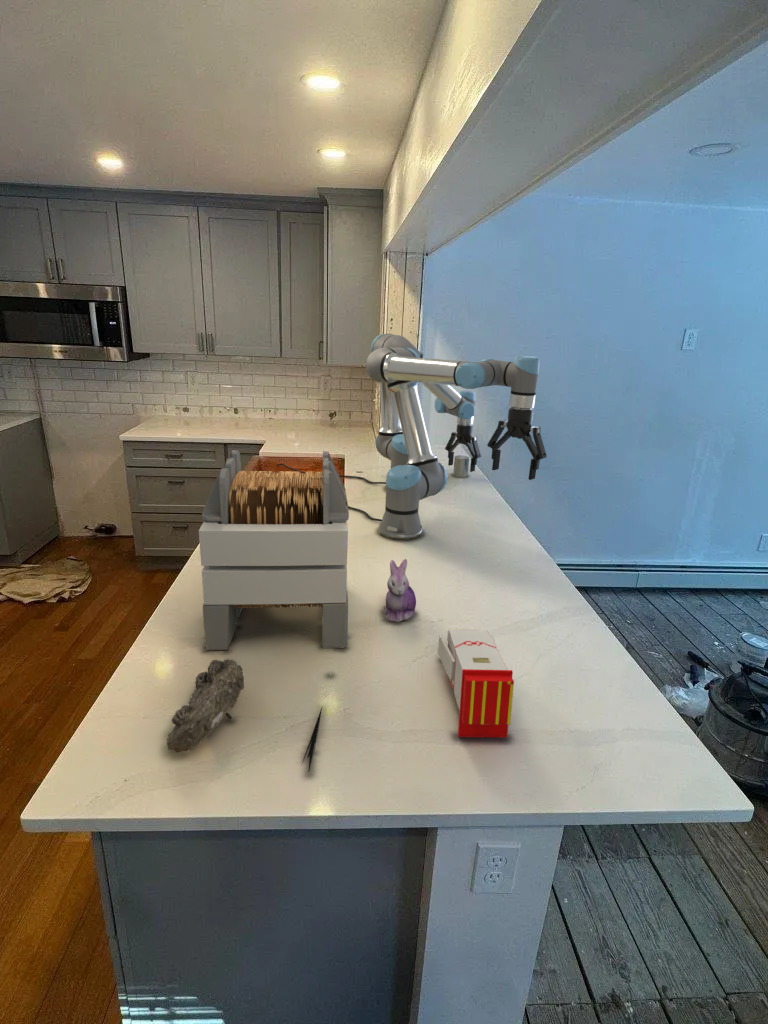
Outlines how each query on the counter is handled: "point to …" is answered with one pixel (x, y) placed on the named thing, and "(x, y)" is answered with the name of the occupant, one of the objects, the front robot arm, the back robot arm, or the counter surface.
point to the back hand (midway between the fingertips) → (461, 468)
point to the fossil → (206, 705)
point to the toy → (478, 682)
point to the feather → (313, 740)
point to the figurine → (399, 594)
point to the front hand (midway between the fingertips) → (513, 474)
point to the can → (461, 466)
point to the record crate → (274, 548)
